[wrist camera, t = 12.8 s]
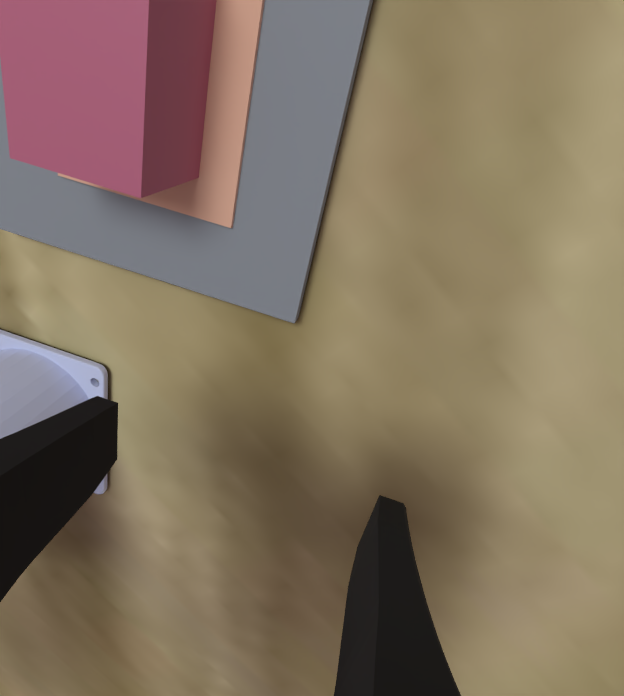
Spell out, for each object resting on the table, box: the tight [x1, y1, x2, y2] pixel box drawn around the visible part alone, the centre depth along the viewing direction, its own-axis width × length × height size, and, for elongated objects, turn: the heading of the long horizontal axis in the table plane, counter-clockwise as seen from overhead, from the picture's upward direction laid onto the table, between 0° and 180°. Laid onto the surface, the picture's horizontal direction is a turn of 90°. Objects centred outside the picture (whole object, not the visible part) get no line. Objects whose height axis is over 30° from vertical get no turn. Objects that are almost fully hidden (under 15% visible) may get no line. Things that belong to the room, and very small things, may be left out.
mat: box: [0, 0, 373, 323], centre depth 17 cm, size 16×14×1 cm
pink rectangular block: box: [0, 0, 217, 198], centre depth 15 cm, size 4×6×4 cm
